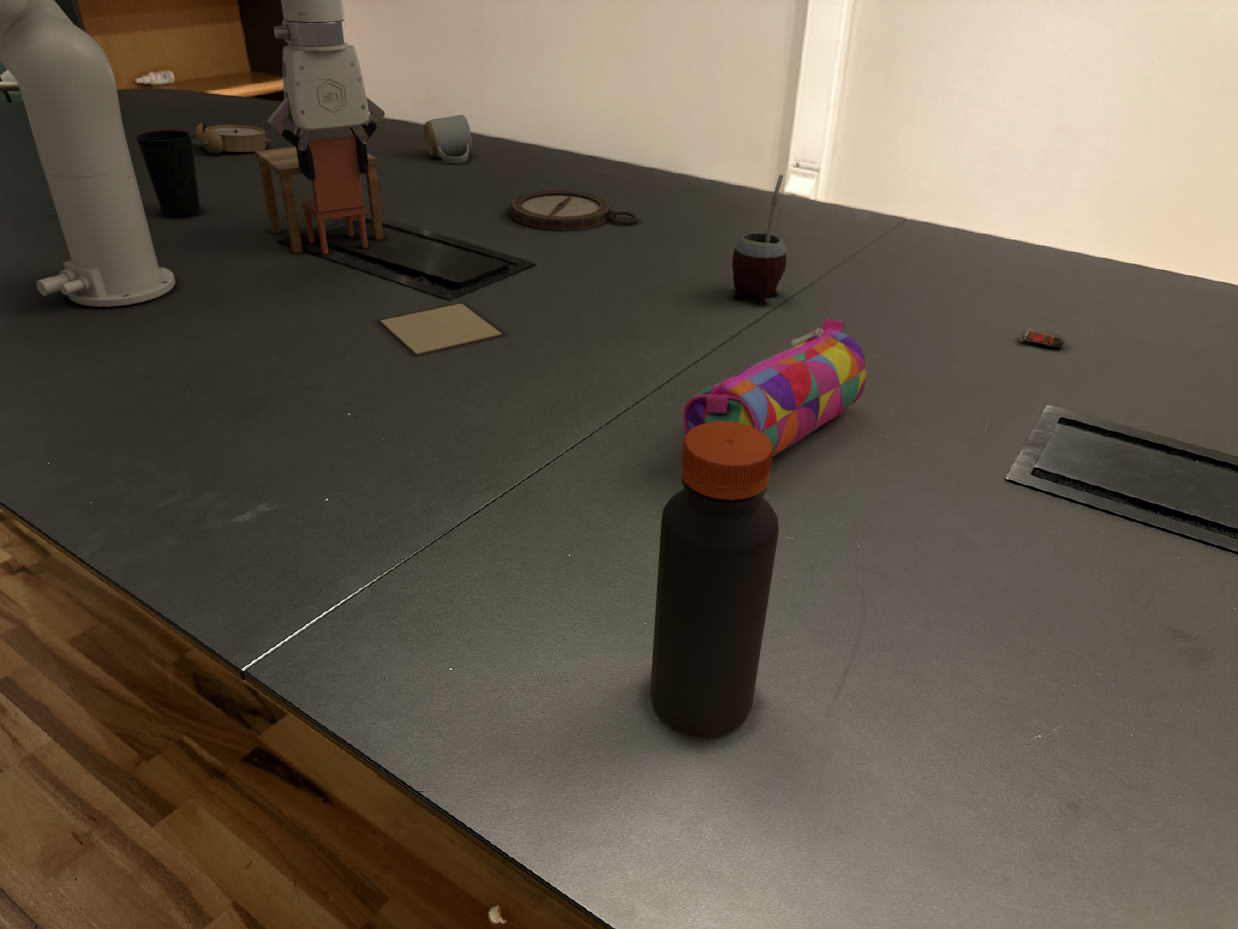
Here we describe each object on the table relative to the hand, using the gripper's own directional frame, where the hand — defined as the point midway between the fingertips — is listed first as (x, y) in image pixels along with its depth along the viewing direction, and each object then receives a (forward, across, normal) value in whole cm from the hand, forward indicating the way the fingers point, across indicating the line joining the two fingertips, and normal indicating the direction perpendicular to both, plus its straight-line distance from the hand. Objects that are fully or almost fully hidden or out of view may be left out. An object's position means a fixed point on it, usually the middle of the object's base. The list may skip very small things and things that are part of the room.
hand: (335, 173), depth 126 cm
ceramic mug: (+11, +38, +43) cm, 58 cm away
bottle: (+11, -11, -97) cm, 98 cm away
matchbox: (+11, +62, -74) cm, 97 cm away
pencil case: (+11, +18, -74) cm, 76 cm away
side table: (+11, 0, +8) cm, 14 cm away
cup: (+11, -16, +30) cm, 36 cm away
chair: (+11, 0, +3) cm, 12 cm away
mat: (+11, 0, -33) cm, 35 cm away
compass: (+11, +37, -2) cm, 39 cm away
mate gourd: (+11, +41, -44) cm, 61 cm away
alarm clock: (+11, +1, +70) cm, 71 cm away
